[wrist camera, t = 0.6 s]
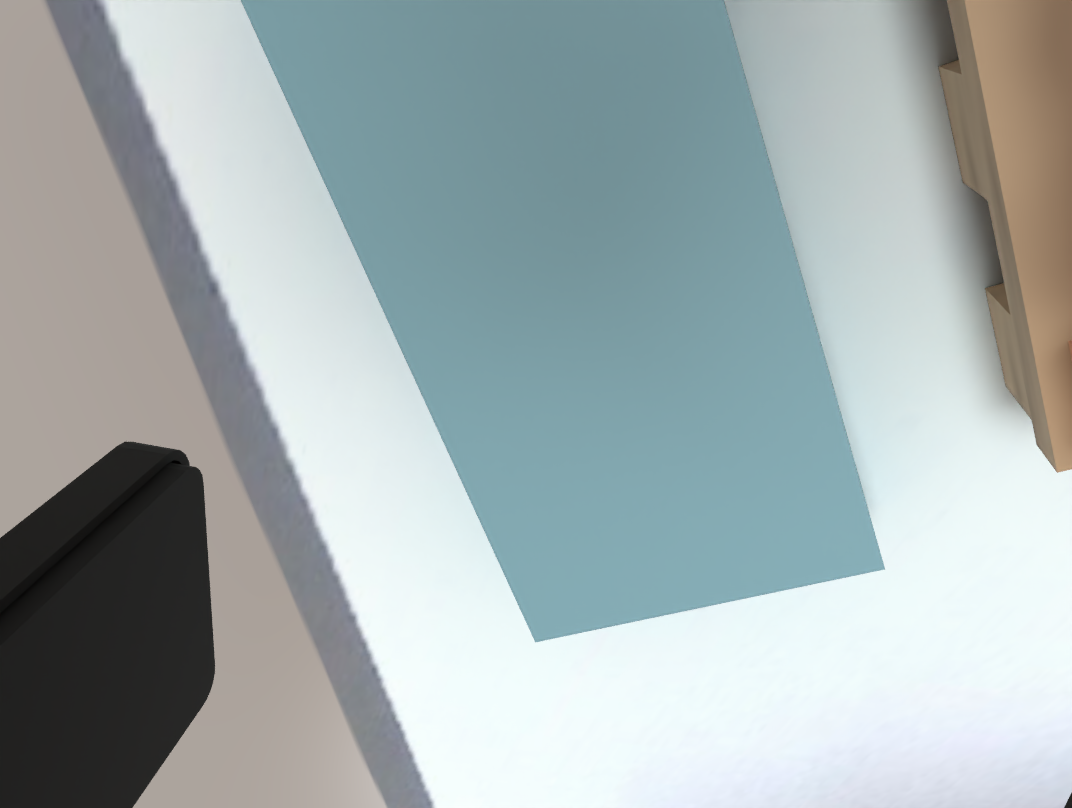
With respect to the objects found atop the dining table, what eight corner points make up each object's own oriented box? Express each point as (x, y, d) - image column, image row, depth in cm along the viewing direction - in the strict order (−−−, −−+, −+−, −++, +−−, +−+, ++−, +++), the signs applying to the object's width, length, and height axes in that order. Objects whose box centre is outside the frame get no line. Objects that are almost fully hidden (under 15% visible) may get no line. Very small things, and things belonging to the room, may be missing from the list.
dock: (649, -253, 28) (641, -288, 24) (866, 512, 37) (885, 569, 33) (265, -61, 32) (210, -68, 28) (549, 584, 41) (535, 642, 37)
